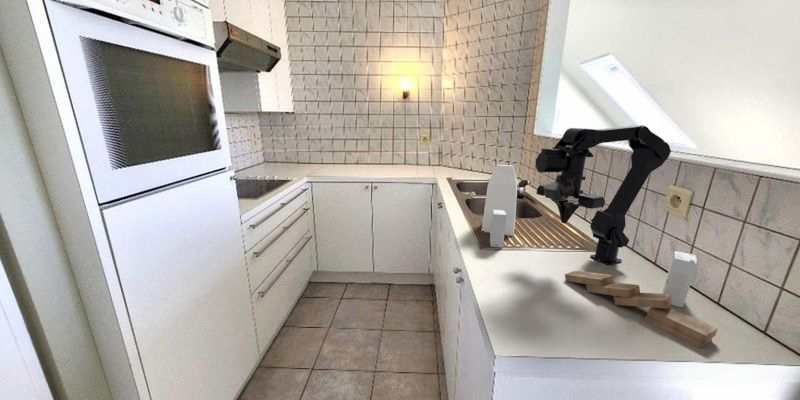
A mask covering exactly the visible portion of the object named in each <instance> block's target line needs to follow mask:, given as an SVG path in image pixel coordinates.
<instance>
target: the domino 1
mask: <svg viewBox="0 0 800 400" xmlns="http://www.w3.org/2000/svg"><path fill="white" fill-rule="evenodd" d="M564 278H565V279H564V280H565V281H566V282H571V283H575V284H577V283H578V284H583V285H587V284H588V285H594V286H601V287H603V286H606V285H608V284H610V283H613V282H614V281H615V280H614V275H612V274H604V273H599V272H591V271H582V270H573V271H571V272H570V271H569V272H568V273H564Z"/></svg>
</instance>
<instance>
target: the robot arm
mask: <svg viewBox="0 0 800 400" xmlns="http://www.w3.org/2000/svg"><path fill="white" fill-rule="evenodd" d="M623 141H625V142H626V141H627V143H628V146H629V148H630V149H631V150H632V153H631V156H630V159H631V160H630V162H631V166H630V167H631V168H629V171H628V172H627V174H626V175H625V177H624V179H623V181H622V182H621V184H620V185H619V187H618V189H617V191H616V192H615V195H614V196H613V198H612V199H611V201H610V203H609V205H608V207H607V208H605V204H606V200H605V198H604V196H600V195H597V194H593V193H592V194H591V193H590V194H584V189H582V182H583V181H585V180H586V176H585V175H584V169H585V164H586V158H594V154H593V152H591V151H590V150H589V149H592V148H595V147H597V146H598V145H600V144H605V143H613V142H614V143H615V142H623ZM671 153H672V150H671V147H670V144H669V143H668V142H665V140H664V139H663V138H662V137H660V136H658V135H657V134H655V133H654V132H652V131H651V130H650V128H649V127H648V126H646V125H641V124H640V125H639V124H636V125H635V124H630V125H628V126H619V127H618V126H617V127H610V128H599V129H596V128H595V129H594V128H593V129H592V128H581V127H580V128H579V127H578V128H577V127H570V128H567V129H566V130H565V132H564V133H563V135H562V137H561V138H560V139H559V141H558V142H557V143H556V144H555V145H554V147H553V148H541V152H540V153H538V155H537V156H536V159H535V169H536V170H537V171H538V173H542V174H543V173H560V174H557V176H556V179H555V181H551V182H550V183H548V184H541V185H539V186H538V187H537V188H536V195H538V196H542V197H544V196H545V198H546V199H550V200H551V201H552V202H554V204H555V205H556V206H557V208H558V212H559V217H560V221H561V223H562V224H567V223H568V221H569V220H570V218H571V217H573V215H574V213H575V212H576V211H577V210H578V208H580V207H583V208H585V209H591V210H593V209H599V208H604V210H596V212H595V213H594V215H593V218H591V220H590V222H591V223H590V226H589V227H590V230H591V233H592V237H593V238H595V239H598V240H597V245H596V250H595V253H594V254H591V255H590V256H589V257H590V258H592V259H593V260H597V261H598V262H601V263H604V264H606V265H608V266H611V265H614V264H618V263H621V262H622V259H621V258H618V255H619V250H620V248H621V249H622V248H623V247H627V246H628V244H629V243H630V239H629V237H628V236H627V235H626V234H625V232H624V230H625V229H626V223H627V222H626V215H627V213H628V211H629V209H630V207H631V206H632V205H633V203H634V201H635V199H636V197H638V194H639V192H640V191H641V189H642V188H643V186H644V185H645V182H646V181H647V179H648V177H649V176H650V174H651V173H652V172H653V171H655V170H657V169H659V168H660V167H661V166H663V164H664V163H665V162H666V160H668V158H669V157H670V155H671Z"/></svg>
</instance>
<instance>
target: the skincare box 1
mask: <svg viewBox="0 0 800 400" xmlns="http://www.w3.org/2000/svg"><path fill="white" fill-rule="evenodd" d="M506 216H507V215H506V213H505V211H504V210H493V213H492V223H491V232H490V234H489V243H490V247H491V248H504V240H505V235H504V234H505V225H506Z"/></svg>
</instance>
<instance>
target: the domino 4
mask: <svg viewBox="0 0 800 400" xmlns="http://www.w3.org/2000/svg"><path fill="white" fill-rule="evenodd" d="M646 316H649V317H651V318H653V319H655V320H657V321H659V322H661V323H663V324H665V325H667V326H669V327H671V328H673V329H675V330H678V331H680V332H682V333H684V334H686V335H688V336H690V337H692V338H694V339H696V340H698V341H700V342H702V343H705V342H707V341H708V340H710V339H711V338H712V339H713V338H715V337H716V335H717V332H718V327H716V326H714V325H711V324H709V323H706V322H703V321H702V320H700V319H698V318H696V317H694V316H691V315H689V314H687V313H684V312H682V311H680V310H677V309H675V308H673V307H671V306H669V308H668V309H665V308H652V307H648V310H647V314H646Z"/></svg>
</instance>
